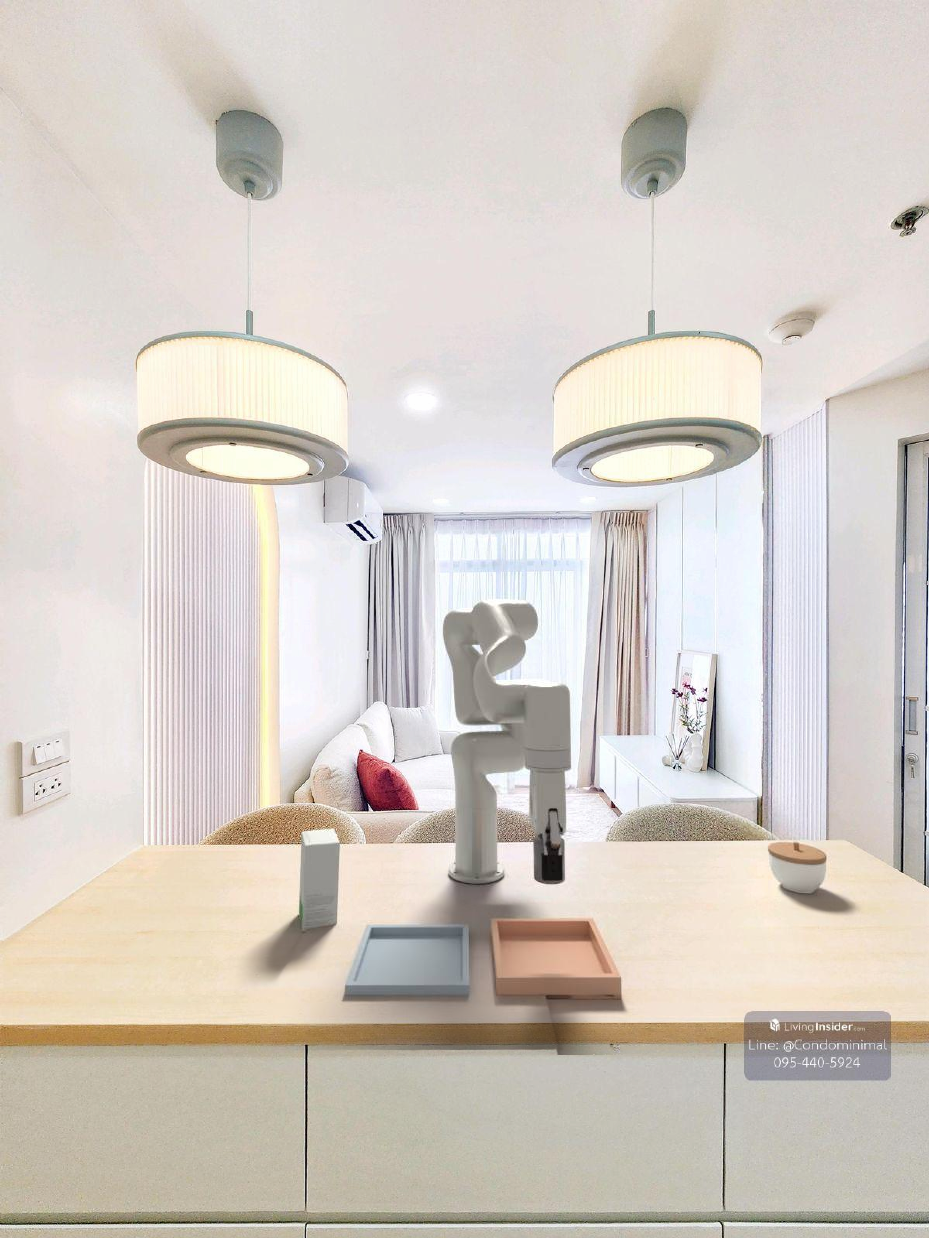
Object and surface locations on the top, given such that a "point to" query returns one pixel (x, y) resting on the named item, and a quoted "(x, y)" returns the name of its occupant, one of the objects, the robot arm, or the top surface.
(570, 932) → the terracotta dish
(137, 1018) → the top surface
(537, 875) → the gray metal cylinder
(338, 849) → the skincare box
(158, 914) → the top surface
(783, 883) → the lidded jar
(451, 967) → the parts tray
